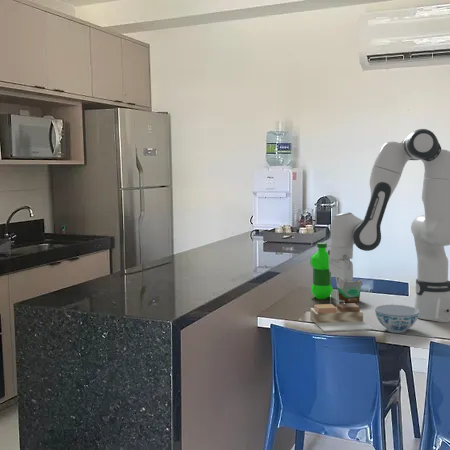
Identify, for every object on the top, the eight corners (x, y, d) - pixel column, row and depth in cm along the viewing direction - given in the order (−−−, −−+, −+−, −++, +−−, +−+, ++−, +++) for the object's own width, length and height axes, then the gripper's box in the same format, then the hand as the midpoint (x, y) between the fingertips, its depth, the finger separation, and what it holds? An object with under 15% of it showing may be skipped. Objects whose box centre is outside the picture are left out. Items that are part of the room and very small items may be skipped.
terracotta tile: (331, 308, 212) (331, 303, 212) (336, 312, 206) (336, 307, 206) (314, 309, 211) (314, 304, 211) (318, 313, 205) (318, 308, 205)
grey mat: (363, 322, 206) (363, 321, 206) (372, 329, 196) (372, 328, 196) (316, 324, 205) (316, 322, 205) (323, 331, 195) (323, 330, 195)
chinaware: (414, 339, 185) (414, 317, 184) (370, 333, 192) (370, 312, 192) (421, 328, 198) (422, 307, 197) (380, 323, 205) (380, 303, 205)
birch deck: (355, 316, 215) (355, 306, 215) (363, 322, 206) (363, 312, 206) (310, 318, 213) (310, 308, 213) (316, 324, 205) (316, 313, 204)
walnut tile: (354, 307, 213) (354, 303, 213) (359, 311, 207) (359, 306, 207) (336, 308, 212) (336, 303, 212) (341, 312, 206) (341, 307, 206)
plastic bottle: (328, 294, 254) (329, 241, 251) (336, 300, 243) (336, 244, 241) (307, 295, 252) (308, 242, 250) (314, 300, 242) (314, 245, 240)
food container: (344, 306, 231) (345, 283, 230) (336, 303, 237) (336, 280, 236) (368, 303, 236) (368, 280, 235) (359, 300, 242) (359, 278, 241)
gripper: (358, 257, 206) (356, 293, 207) (341, 250, 226) (340, 283, 227) (341, 257, 205) (340, 293, 206) (326, 249, 225) (325, 283, 227)
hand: (340, 288), depth 217 cm, fingers closed
